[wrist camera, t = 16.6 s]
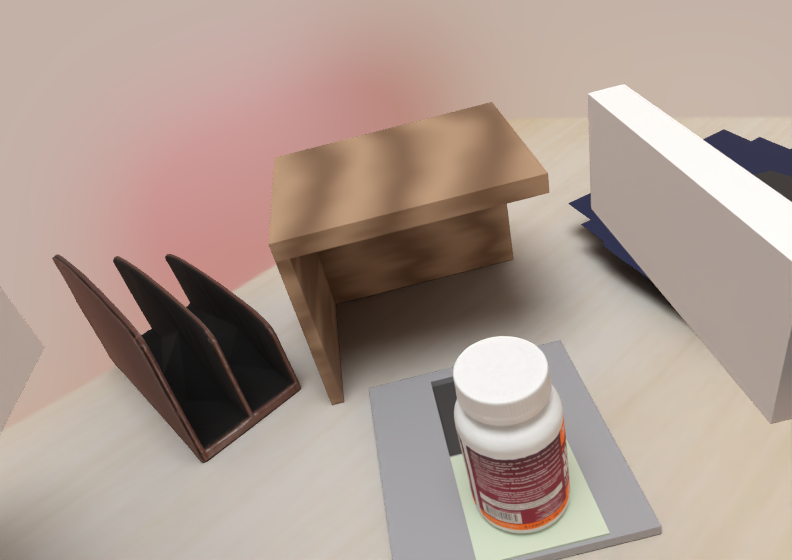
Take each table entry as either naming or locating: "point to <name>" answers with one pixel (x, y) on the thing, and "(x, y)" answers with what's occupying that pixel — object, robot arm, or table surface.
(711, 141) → the navy blue folder
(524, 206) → the table surface
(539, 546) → the board
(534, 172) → the cubby
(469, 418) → the pill bottle
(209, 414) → the letter holder
